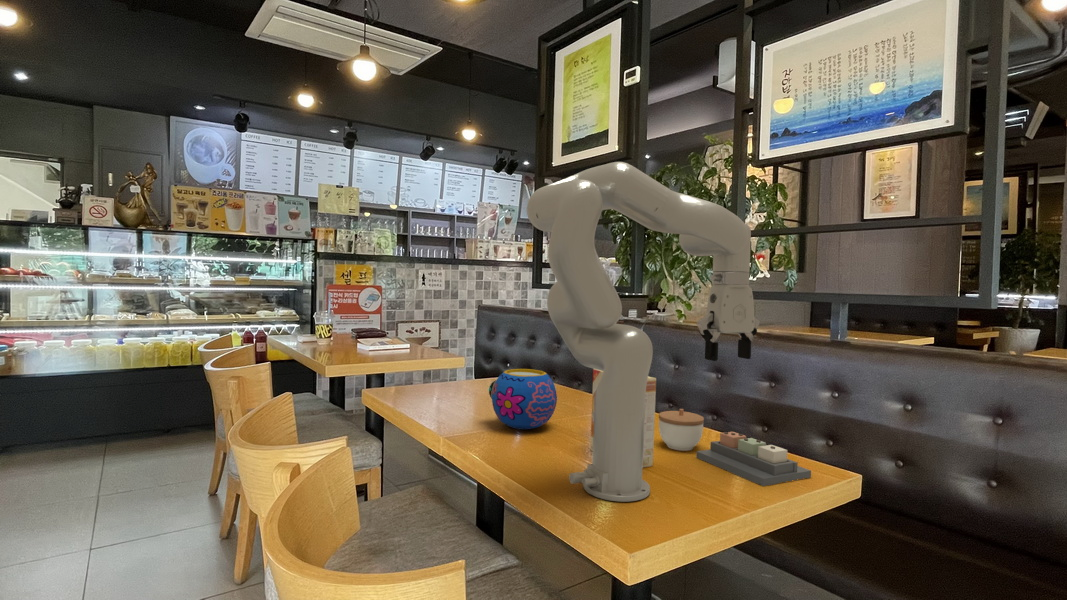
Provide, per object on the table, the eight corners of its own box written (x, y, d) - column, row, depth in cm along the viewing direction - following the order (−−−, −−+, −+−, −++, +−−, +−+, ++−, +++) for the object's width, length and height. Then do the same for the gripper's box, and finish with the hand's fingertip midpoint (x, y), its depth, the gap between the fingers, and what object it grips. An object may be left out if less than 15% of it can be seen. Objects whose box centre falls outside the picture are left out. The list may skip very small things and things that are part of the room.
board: (763, 486, 110) (763, 469, 110) (696, 457, 127) (697, 442, 127) (810, 477, 116) (811, 461, 116) (741, 451, 133) (741, 437, 133)
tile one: (773, 463, 114) (774, 450, 114) (757, 457, 118) (758, 445, 117) (786, 461, 116) (787, 448, 116) (771, 455, 119) (771, 443, 119)
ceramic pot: (527, 416, 161) (529, 365, 161) (569, 430, 147) (571, 374, 147) (477, 424, 150) (479, 369, 149) (517, 440, 136) (519, 379, 136)
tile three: (732, 448, 124) (733, 436, 124) (719, 443, 127) (720, 431, 127) (745, 446, 126) (746, 434, 125) (732, 441, 129) (733, 430, 129)
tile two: (752, 455, 119) (752, 443, 119) (738, 450, 122) (738, 438, 122) (765, 453, 121) (766, 441, 121) (751, 448, 124) (751, 436, 124)
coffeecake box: (588, 450, 130) (592, 368, 129) (613, 447, 133) (616, 366, 133) (627, 470, 117) (631, 379, 116) (654, 466, 120) (657, 377, 119)
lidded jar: (692, 457, 128) (694, 416, 127) (650, 447, 134) (651, 409, 134) (709, 446, 136) (710, 409, 136) (668, 438, 143) (669, 402, 142)
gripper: (712, 280, 113) (709, 363, 113) (773, 281, 120) (770, 359, 121) (687, 279, 119) (685, 358, 120) (746, 280, 127) (743, 355, 128)
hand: (727, 359), depth 120 cm, fingers open, 9 cm apart
